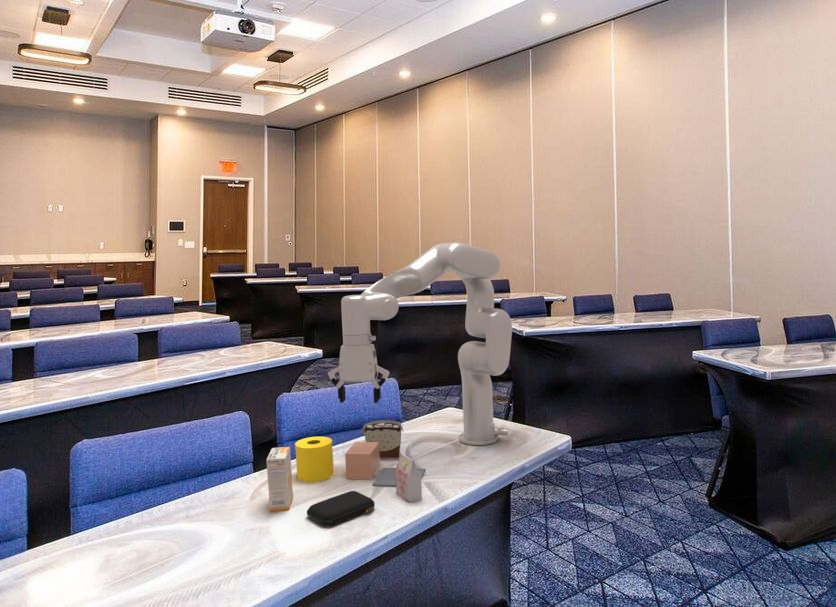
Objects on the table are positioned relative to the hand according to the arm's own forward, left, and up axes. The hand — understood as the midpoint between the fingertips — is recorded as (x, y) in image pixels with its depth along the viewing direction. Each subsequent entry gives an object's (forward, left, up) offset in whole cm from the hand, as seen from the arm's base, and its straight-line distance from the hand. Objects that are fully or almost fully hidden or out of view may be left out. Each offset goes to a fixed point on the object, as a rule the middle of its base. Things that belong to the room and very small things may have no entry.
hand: (359, 401), depth 163 cm
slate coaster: (-11, +3, -20) cm, 23 cm away
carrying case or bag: (-2, +26, -21) cm, 33 cm away
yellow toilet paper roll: (+13, +3, -20) cm, 24 cm away
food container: (-3, -14, -20) cm, 25 cm away
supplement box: (+15, +22, -20) cm, 33 cm away
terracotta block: (0, 0, -20) cm, 20 cm away
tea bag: (-16, +15, -20) cm, 30 cm away
